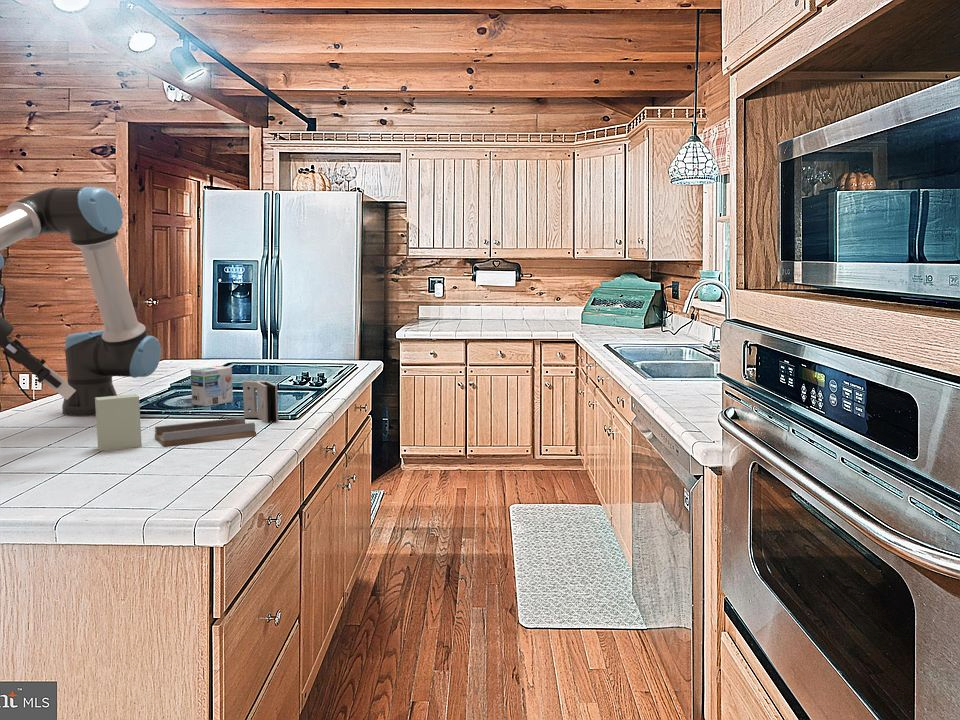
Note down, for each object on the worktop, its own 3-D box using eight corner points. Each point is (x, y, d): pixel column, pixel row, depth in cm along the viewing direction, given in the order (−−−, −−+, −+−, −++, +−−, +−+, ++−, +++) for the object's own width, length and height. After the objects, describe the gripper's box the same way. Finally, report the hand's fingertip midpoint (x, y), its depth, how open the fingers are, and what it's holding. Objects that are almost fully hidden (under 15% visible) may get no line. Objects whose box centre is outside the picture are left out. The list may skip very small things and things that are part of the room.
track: (154, 437, 208) (154, 426, 207) (243, 427, 220) (242, 416, 219) (164, 446, 199) (164, 434, 198) (256, 435, 210) (255, 424, 210)
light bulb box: (205, 407, 249) (204, 371, 247) (190, 404, 252) (189, 369, 251) (234, 401, 258) (232, 366, 256) (219, 399, 261) (218, 365, 260)
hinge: (243, 416, 235) (242, 380, 234) (260, 413, 239) (259, 378, 238) (268, 423, 225) (267, 386, 224) (285, 421, 229) (284, 384, 228)
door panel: (97, 447, 198) (94, 397, 196) (138, 443, 203) (135, 394, 201) (100, 451, 194) (97, 400, 193) (141, 446, 199) (139, 396, 198)
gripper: (-29, 335, 190) (49, 395, 200) (-26, 346, 169) (61, 412, 179) (-4, 311, 192) (72, 371, 202) (3, 319, 172) (87, 385, 182)
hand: (67, 390), depth 191 cm, fingers open, 13 cm apart
